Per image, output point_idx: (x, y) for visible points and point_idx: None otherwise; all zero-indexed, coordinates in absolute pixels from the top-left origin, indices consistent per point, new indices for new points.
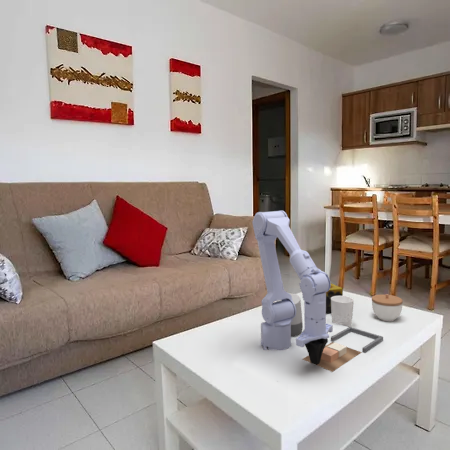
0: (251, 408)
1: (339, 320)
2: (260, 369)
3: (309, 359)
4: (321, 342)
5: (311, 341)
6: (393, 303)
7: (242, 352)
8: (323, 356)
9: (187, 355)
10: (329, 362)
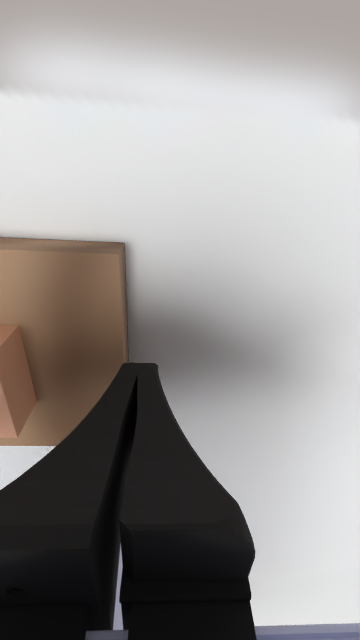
0: None
1: None
2: (294, 490)
3: None
4: (97, 541)
5: (253, 625)
6: None
7: None
8: (20, 390)
9: (337, 614)
10: (24, 332)
